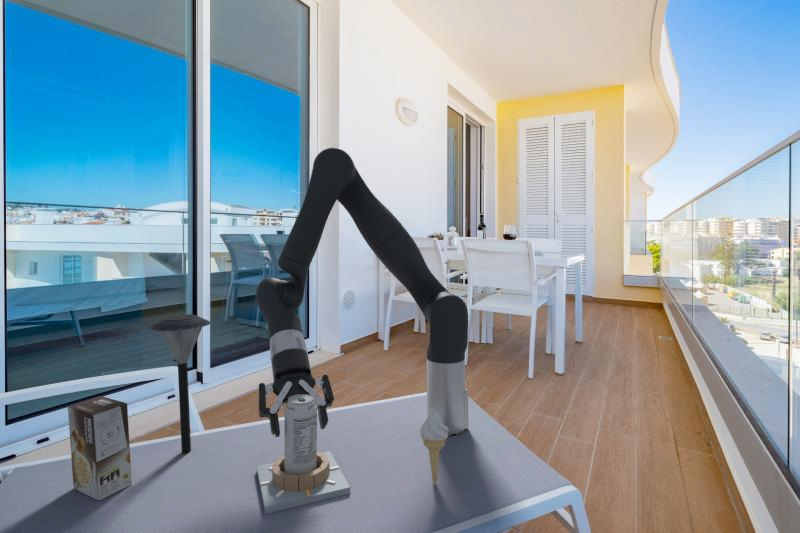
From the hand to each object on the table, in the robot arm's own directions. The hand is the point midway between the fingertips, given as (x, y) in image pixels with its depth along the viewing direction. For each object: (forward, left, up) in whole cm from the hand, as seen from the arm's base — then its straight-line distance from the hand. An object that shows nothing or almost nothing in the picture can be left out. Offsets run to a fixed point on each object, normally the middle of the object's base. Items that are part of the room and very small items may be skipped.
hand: (301, 431), depth 84 cm
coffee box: (+35, -15, -11) cm, 40 cm away
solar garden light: (+21, -24, -11) cm, 34 cm away
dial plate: (0, -1, -10) cm, 11 cm away
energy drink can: (0, -2, -9) cm, 10 cm away
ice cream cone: (-23, +10, -11) cm, 27 cm away
